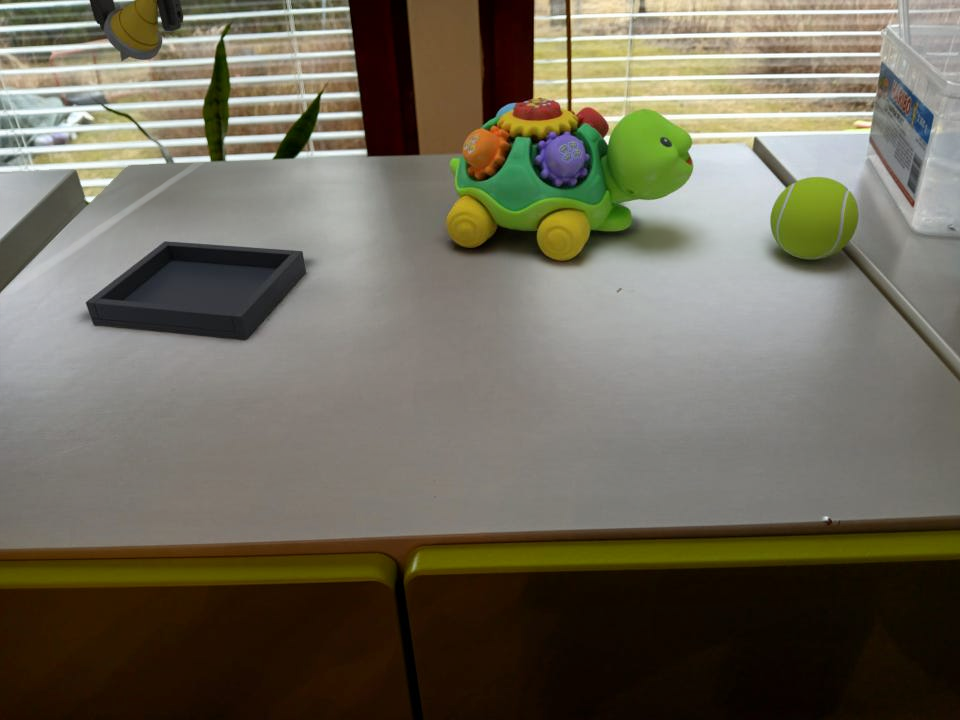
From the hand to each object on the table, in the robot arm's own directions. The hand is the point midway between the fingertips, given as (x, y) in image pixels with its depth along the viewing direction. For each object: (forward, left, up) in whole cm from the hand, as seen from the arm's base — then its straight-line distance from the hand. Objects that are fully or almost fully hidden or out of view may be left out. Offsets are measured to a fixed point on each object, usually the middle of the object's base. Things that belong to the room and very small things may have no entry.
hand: (141, 28), depth 79 cm
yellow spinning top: (0, 0, -3) cm, 3 cm away
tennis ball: (+65, -6, -17) cm, 68 cm away
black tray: (+15, -22, -17) cm, 32 cm away
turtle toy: (+43, -3, -17) cm, 47 cm away
